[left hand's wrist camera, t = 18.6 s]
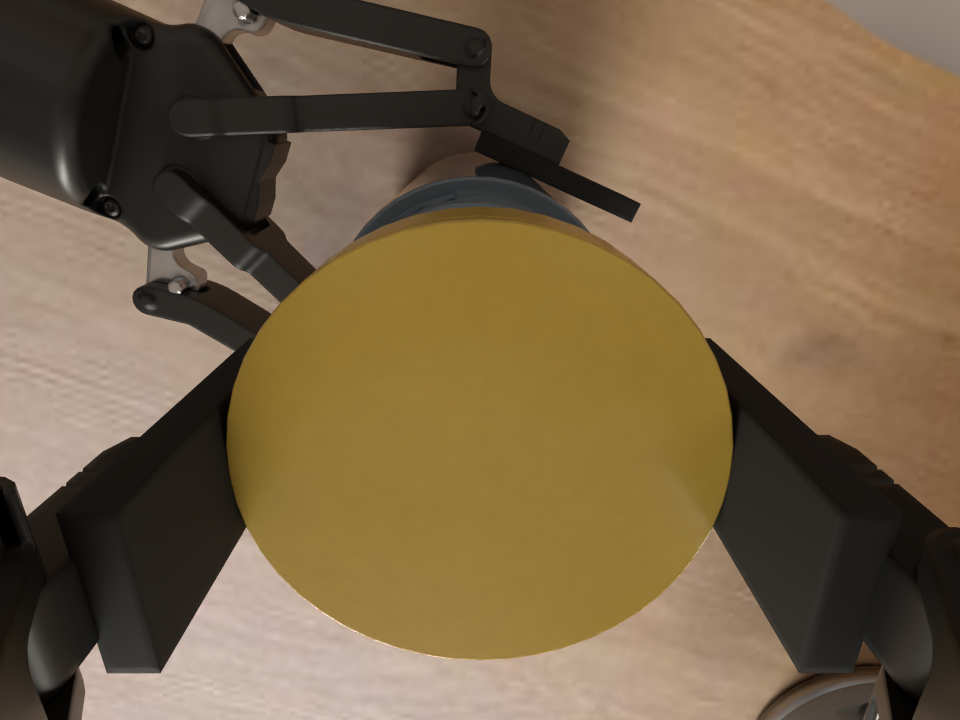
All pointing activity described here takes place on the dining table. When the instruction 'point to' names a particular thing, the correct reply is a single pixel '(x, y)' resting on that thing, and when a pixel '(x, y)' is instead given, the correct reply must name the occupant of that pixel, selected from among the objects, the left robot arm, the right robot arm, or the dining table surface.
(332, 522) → the lid
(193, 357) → the dining table surface
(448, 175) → the jar
